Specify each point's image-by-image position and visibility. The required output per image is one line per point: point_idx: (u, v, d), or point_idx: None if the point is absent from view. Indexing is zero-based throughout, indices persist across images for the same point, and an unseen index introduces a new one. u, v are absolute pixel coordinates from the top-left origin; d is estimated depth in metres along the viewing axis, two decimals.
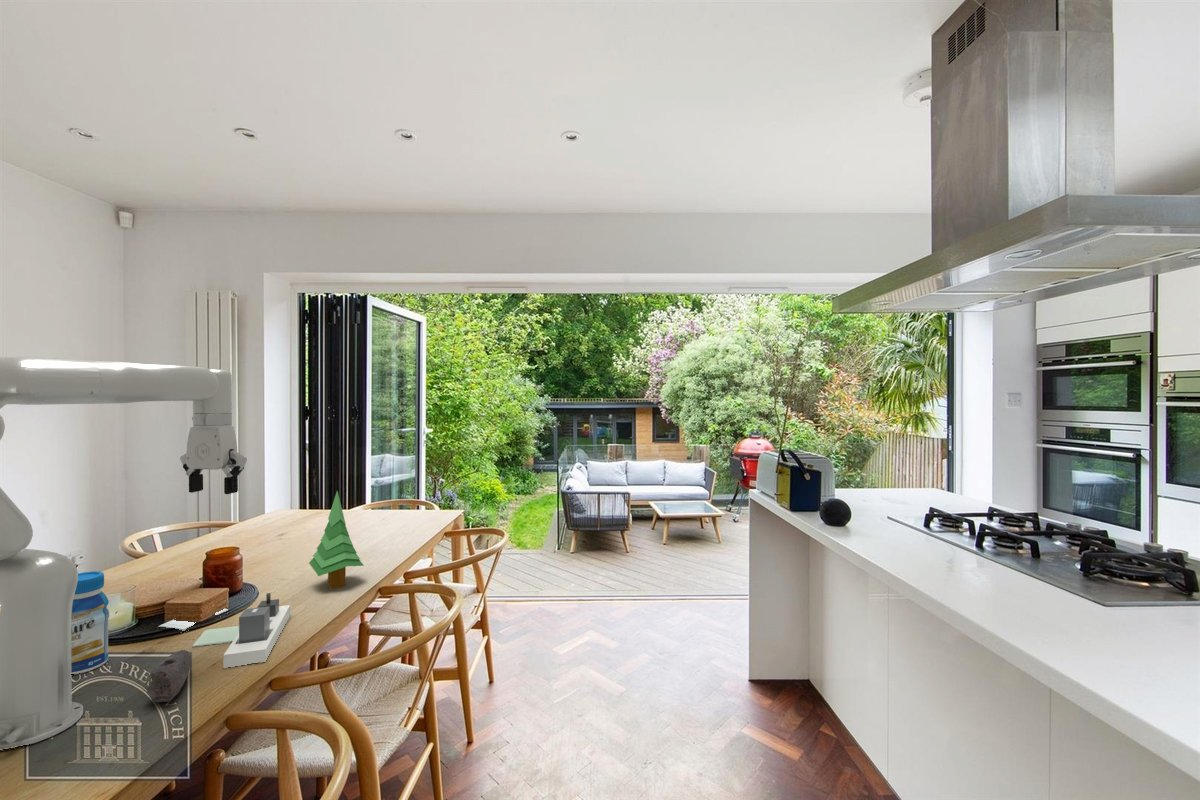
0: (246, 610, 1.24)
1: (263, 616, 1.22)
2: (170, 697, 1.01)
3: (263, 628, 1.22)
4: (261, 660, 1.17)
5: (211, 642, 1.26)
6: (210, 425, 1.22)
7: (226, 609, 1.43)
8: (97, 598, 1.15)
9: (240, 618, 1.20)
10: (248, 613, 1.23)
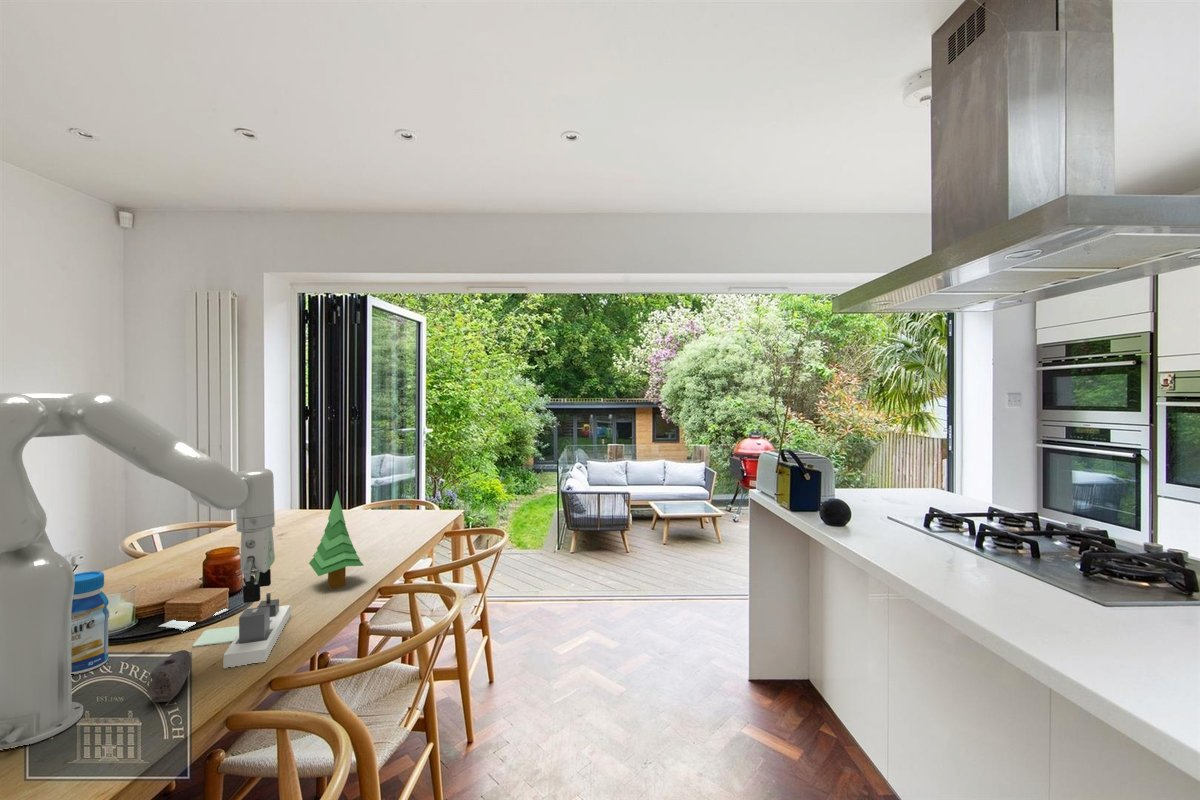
0: (246, 610, 1.24)
1: (263, 616, 1.22)
2: (170, 697, 1.01)
3: (263, 628, 1.22)
4: (261, 660, 1.17)
5: (211, 642, 1.26)
6: None
7: (226, 609, 1.43)
8: (97, 598, 1.15)
9: (240, 618, 1.20)
10: (248, 613, 1.23)
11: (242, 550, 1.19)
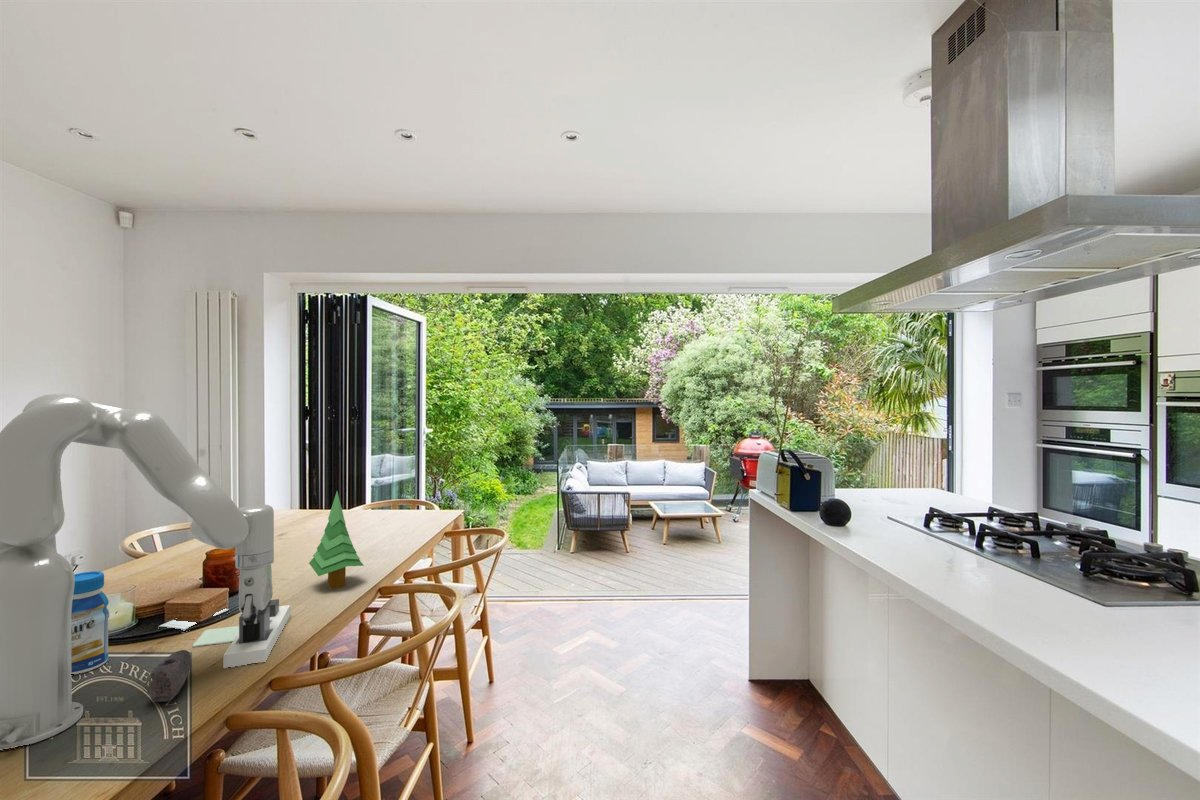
0: None
1: (263, 616, 1.22)
2: (170, 697, 1.01)
3: (263, 628, 1.22)
4: (261, 660, 1.17)
5: (211, 642, 1.26)
6: None
7: (226, 609, 1.44)
8: (97, 598, 1.15)
9: (240, 618, 1.20)
10: None
11: (240, 588, 1.18)
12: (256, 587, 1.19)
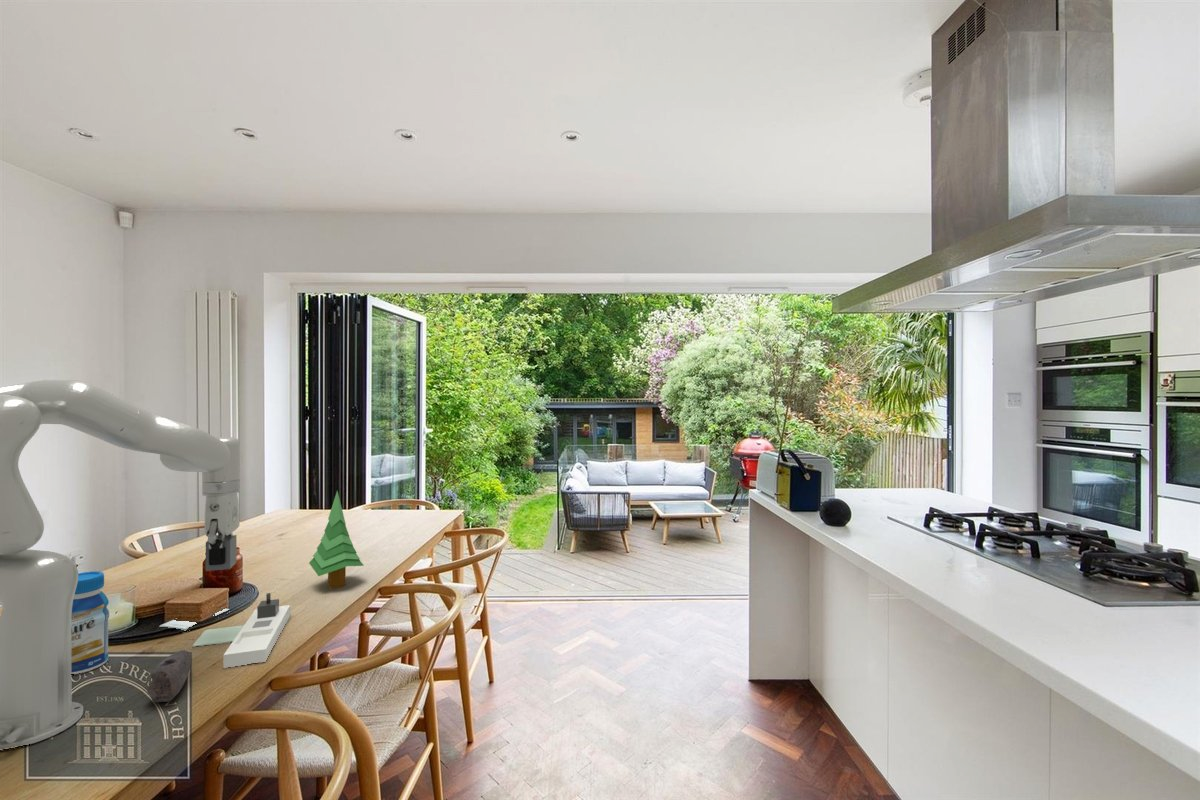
0: None
1: (229, 542, 1.28)
2: (170, 697, 1.01)
3: (229, 553, 1.28)
4: (261, 660, 1.17)
5: (211, 642, 1.26)
6: None
7: (227, 609, 1.44)
8: (97, 598, 1.15)
9: (207, 543, 1.26)
10: None
11: (206, 513, 1.24)
12: (221, 512, 1.25)
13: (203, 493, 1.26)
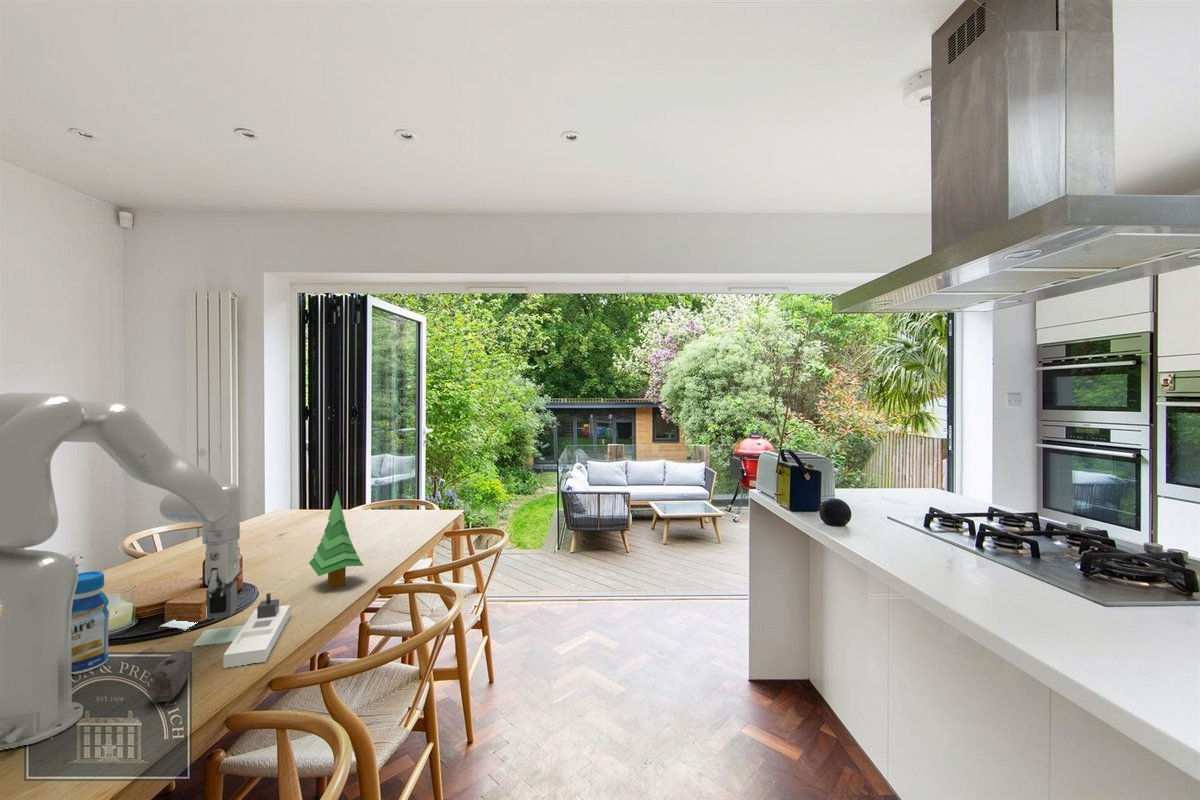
0: None
1: (229, 589, 1.28)
2: (171, 697, 1.01)
3: (230, 600, 1.28)
4: (261, 660, 1.17)
5: (211, 642, 1.26)
6: None
7: None
8: (97, 598, 1.15)
9: (207, 591, 1.27)
10: None
11: (206, 562, 1.25)
12: (221, 561, 1.25)
13: (203, 541, 1.26)
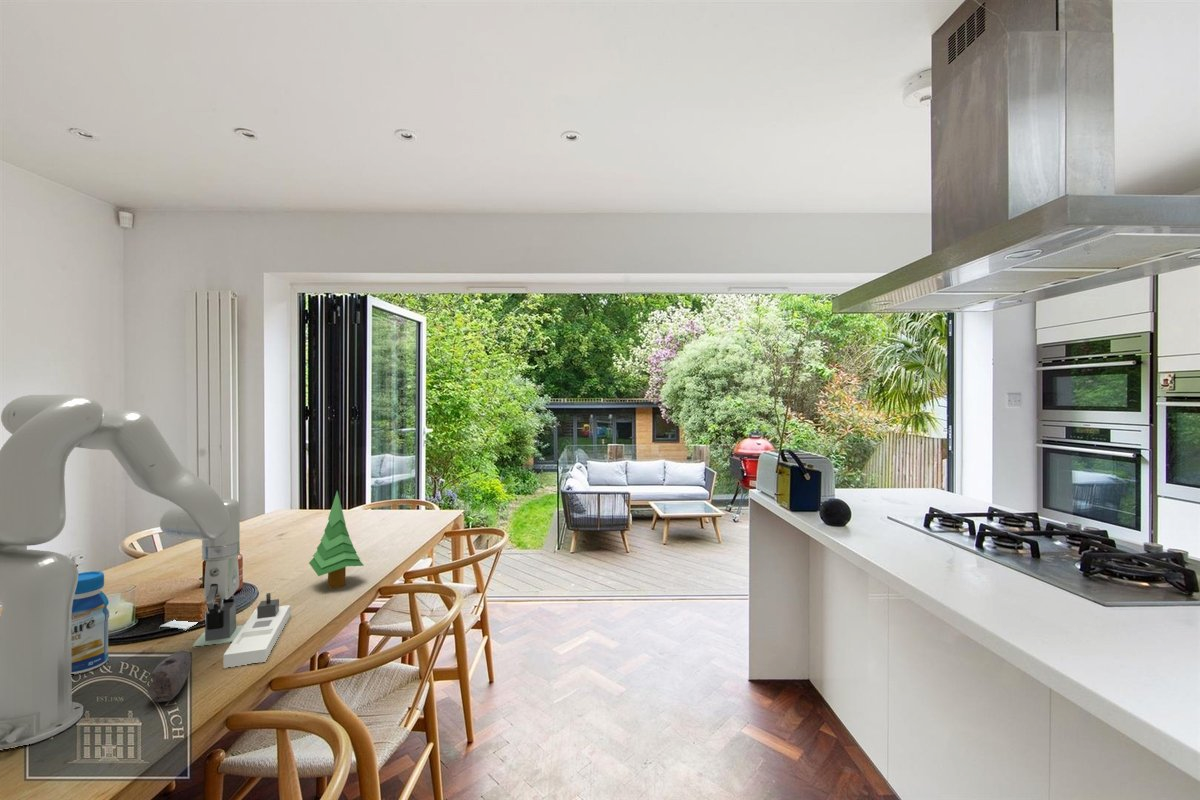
0: None
1: (228, 611, 1.28)
2: (171, 697, 1.01)
3: (228, 622, 1.28)
4: (261, 660, 1.17)
5: (211, 642, 1.26)
6: None
7: None
8: (97, 598, 1.15)
9: (206, 613, 1.26)
10: None
11: (206, 578, 1.25)
12: (221, 577, 1.25)
13: (203, 557, 1.26)
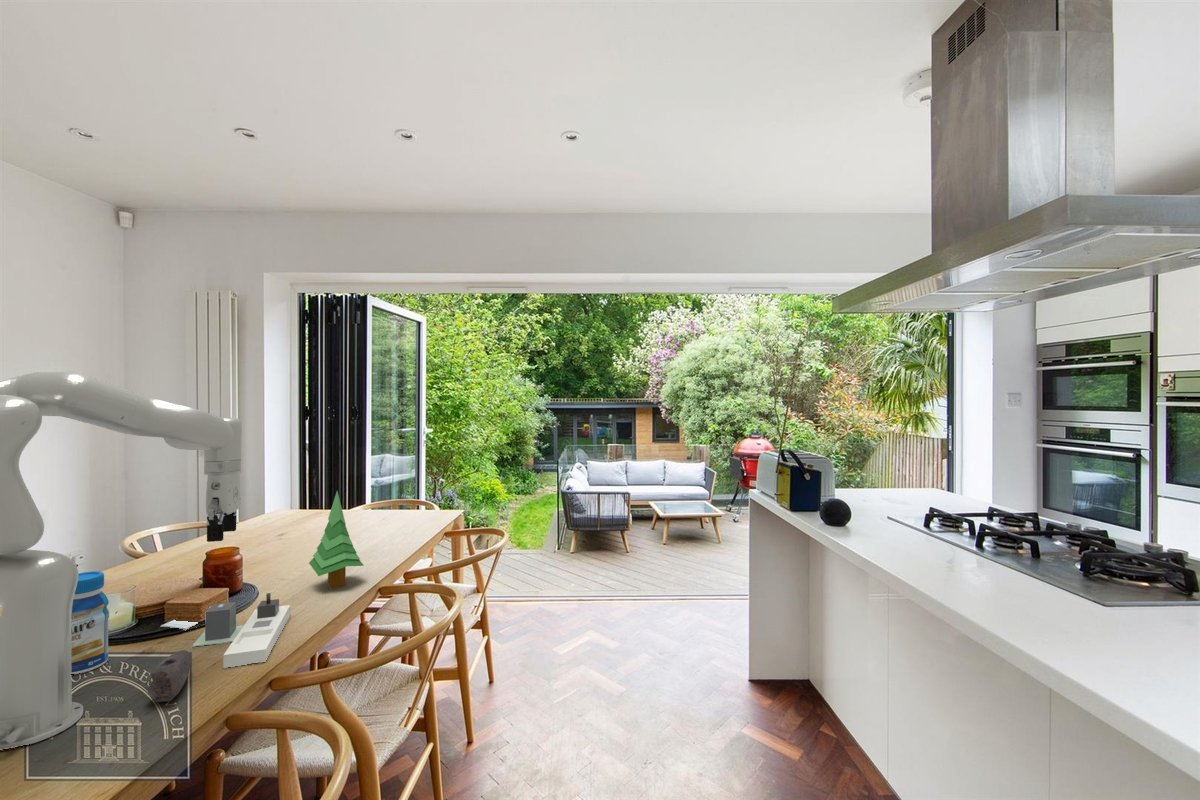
0: (213, 605, 1.30)
1: (228, 611, 1.28)
2: (171, 697, 1.01)
3: (228, 622, 1.28)
4: (261, 660, 1.17)
5: (211, 642, 1.26)
6: None
7: None
8: (97, 598, 1.15)
9: (206, 613, 1.26)
10: (214, 608, 1.29)
11: (207, 491, 1.25)
12: (222, 491, 1.26)
13: (205, 472, 1.27)
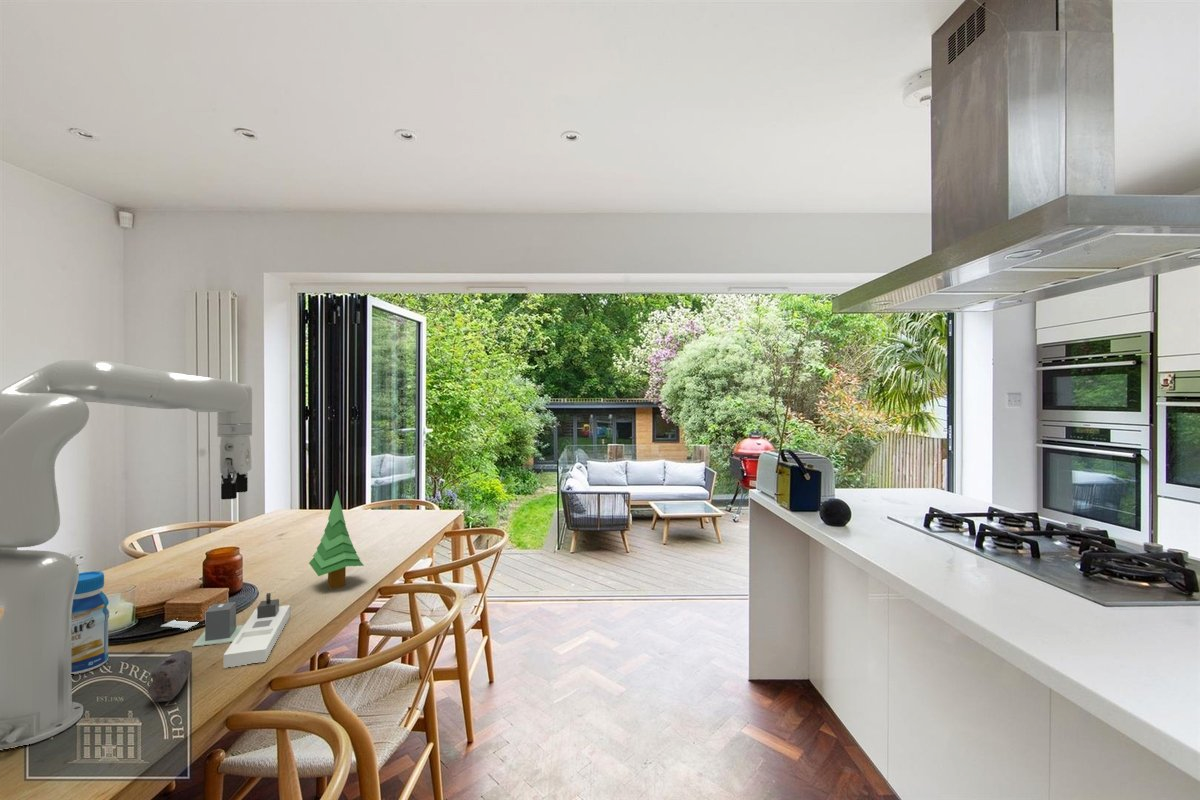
0: (213, 605, 1.30)
1: (228, 611, 1.28)
2: (171, 697, 1.01)
3: (228, 622, 1.28)
4: (261, 660, 1.17)
5: (211, 642, 1.26)
6: None
7: None
8: (97, 598, 1.15)
9: (206, 613, 1.26)
10: (214, 608, 1.29)
11: (221, 452, 1.33)
12: (235, 452, 1.34)
13: (218, 434, 1.35)
